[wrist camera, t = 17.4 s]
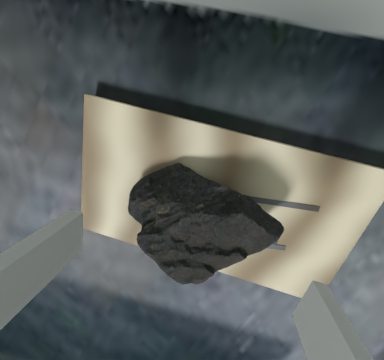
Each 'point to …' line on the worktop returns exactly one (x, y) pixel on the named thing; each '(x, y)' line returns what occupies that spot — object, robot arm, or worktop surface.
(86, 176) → the board
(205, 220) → the rock
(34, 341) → the worktop surface
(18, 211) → the worktop surface
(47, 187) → the worktop surface
